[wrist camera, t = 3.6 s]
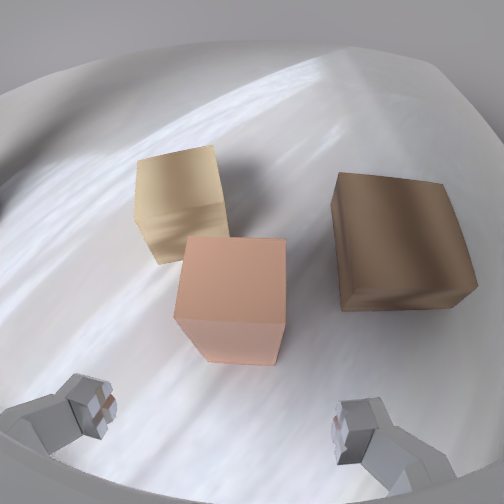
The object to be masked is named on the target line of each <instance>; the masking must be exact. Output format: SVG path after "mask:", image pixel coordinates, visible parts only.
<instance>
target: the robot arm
mask: <svg viewBox="0 0 504 504" xmlns="http://www.w3.org/2000/svg"><path fill="white" fill-rule="evenodd" d="M112 391H113V389H112V386H111V383H110V382H108V381H105V380H101V379H97V378H93V377H90V376H85V375H82V374H78V373H75V374H73V375H72V376H71V377H70V378H69V379H68V380H67V382H66V383H65V384H64V385H63V386H62V387H61V388H60V389H59V390H58V391H57V392H56V393H55V395H53V394H50V395H47V396H44V397H41V398H38V399H35V400H32V401H29V402H26V403H23V404H20V405H17V406H14V407H11V408H7V409H5V410H4V411H3V412H2V413H1V415H0V504H212V503H204V502H197V501H191V500H185V499H179V498H174V497H169V496H164V495H160V494H155V493H151V492H147V491H143V490H139V489H135V488H132V487H128V486H125V485H121V484H118V483H115V482H111V481H108V480H105V479H102V478H99V477H97V476H94V475H91V474H88V473H86V472H83V471H80V470H78V469H75V468H73V467H70V466H68V465H66V464H63V463H61V462H59V461H56V460H54V459H52V458H50V456H49V455H50V454H52V453H54V452H55V451H57V450H59V449H61V448H62V447H64V446H66V445H67V444H69V443H71V442H73V441H74V440H76V439H78V438H79V437H81V436H83V435H86V436H89V437H93V438H96V439H100V440H102V438H103V436H104V435H105V433H106V432H107V430H108V426H107V424H108V423H110V422H112V421H113V420H114V418H115V416H116V412H117V403H116V399H115V398H114V397H113V396H112V395H111V392H112ZM336 413H337V415H336V416H335V417H334V418H333V422H332V430H331V434H332V441H333V443H334V444H335V445H336V448H335V451H334V452H335V457H336V462H337V465H345V464H357V463H361V465H362V466H363V467H364V468H365V469H366V470H367V471H368V472H369V473H370V474H371V475H372V476H374V477H375V478H376V479H377V480H378V481H379V482H380V483H381V484H382V485H383V486H384V487H385V488H386V489H387V490H389V491H390V492H389V494H388V495H387V496H386V497H385V498H380V499H374V500H368V501H362V502H355V503H347V504H504V459H502V460H500V461H497V462H495V463H493V464H491V465H488V466H486V467H484V468H481V469H479V470H477V471H474V472H472V473H469V474H466V475H464V476H461V477H458V478H457V477H456V475H455V473H454V471H453V469H452V467H451V465H450V463H449V461H448V459H447V457H446V455H445V454H443V453H442V452H440V451H438V450H436V449H435V448H433V447H431V446H429V445H428V444H426V443H424V442H423V441H421V440H419V439H418V438H416V437H414V436H413V435H411V434H409V433H408V432H406V431H404V430H403V429H401V428H400V427H398V426H396V427H394V426H393V424H392V422H391V419H390V417H389V415H388V413H387V410H386V408H385V406H384V404H383V402H382V400H381V398H379V397H377V398H368V399H359V400H345V401H338V403H337V406H336ZM82 434H83V435H82Z"/></svg>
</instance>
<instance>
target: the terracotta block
mask: <svg viewBox="0 0 504 504" xmlns="http://www.w3.org/2000/svg"><path fill="white" fill-rule="evenodd" d="M174 319H175V320H176V322H177V323H178V324H179V326H180V327H181V328H182V330H183V331H184V332H185V334H186V335H187V336H188V337H189V339H190V340H191V341H192V343H193V344H194V345H195V346H196V348H197V349H198V350H199V351H200V353H201V354H202V355H203V356H204V358H205V359H206V360H207V361H208V362H216V363H230V364H248V365H275V363H276V360H277V356H278V352H279V348H280V344H281V341H282V337H283V333H284V329H285V325H286V239H274V238H241V237H203V236H188V239H187V244H186V249H185V254H184V259H183V265H182V270H181V276H180V281H179V287H178V293H177V299H176V305H175V312H174Z"/></svg>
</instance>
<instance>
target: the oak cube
mask: <svg viewBox="0 0 504 504" xmlns="http://www.w3.org/2000/svg"><path fill="white" fill-rule="evenodd" d="M134 221H135V223H136V225H137V226H138V228H139V230H140V232H141V234H142V236H143V238H144V240H145V241H146V243H147V245H148V247H149V249H150V251H151V252H152V254H153V256H154V258H155V260H156V261H157V263H158V265H161V264H166V263H171V262H176V261H181V260H183V259H184V254H185V249H186V244H187V239H188V236H203V237H230V235H229V228H228V221H227V215H226V208H225V201H224V196H223V191H222V186H221V182H220V177H219V172H218V167H217V162H216V157H215V152H214V147H213V145H209V146H203V147H198V148H193V149H188V150H183V151H178V152H174V153H169V154H164V155H160V156H156V157H151V158H147V159H143V160H139V161H138V162H137V174H136V189H135V208H134Z"/></svg>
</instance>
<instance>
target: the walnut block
mask: <svg viewBox="0 0 504 504" xmlns="http://www.w3.org/2000/svg"><path fill="white" fill-rule="evenodd" d="M331 212H332V219H333V227H334V235H335V244H336V253H337V263H338V273H339V284H340V296H341V310H342V311H393V310H422V309H443V308H453V307H454V306H455V305H457V304H458V303H459V302H460V301H462V300H463V299H464V298H465V297H466V296H468V295H469V294H470V293H471V292H472V291H474V290H475V289H476V288H477V287H478V283H477V280H476V276H475V272H474V269H473V265H472V262H471V259H470V255H469V252H468V249H467V246H466V243H465V240H464V237H463V234H462V231H461V229H460V226H459V223H458V220H457V218H456V215H455V212H454V210H453V207H452V205H451V202H450V200H449V198H448V195H447V193H446V190H445V188H444V186H443V184H438V183H432V182H425V181H417V180H410V179H402V178H393V177H384V176H375V175H364V174H353V173H341V172H339V174H338V178H337V182H336V186H335V190H334V193H333V197H332V201H331Z"/></svg>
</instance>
